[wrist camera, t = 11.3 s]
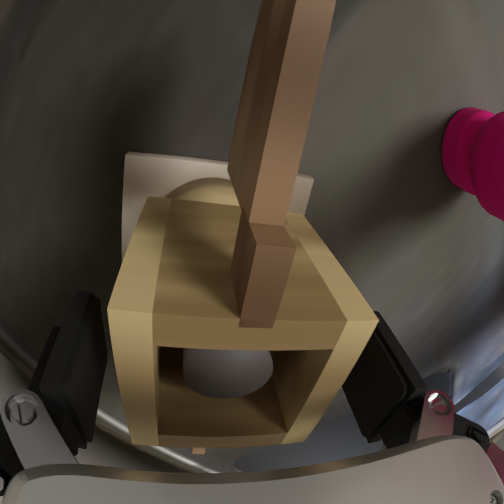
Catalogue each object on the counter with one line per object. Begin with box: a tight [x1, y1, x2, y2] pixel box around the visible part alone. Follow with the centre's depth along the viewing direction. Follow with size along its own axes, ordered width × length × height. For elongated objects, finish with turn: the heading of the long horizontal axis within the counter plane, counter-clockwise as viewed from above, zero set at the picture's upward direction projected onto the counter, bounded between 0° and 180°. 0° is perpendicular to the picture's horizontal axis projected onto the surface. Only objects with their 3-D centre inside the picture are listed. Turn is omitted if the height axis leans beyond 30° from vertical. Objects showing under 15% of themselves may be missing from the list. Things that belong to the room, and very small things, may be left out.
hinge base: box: [122, 152, 314, 454], centre depth 15 cm, size 16×10×10 cm, turn 169°
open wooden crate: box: [107, 0, 379, 448], centre depth 9 cm, size 16×7×7 cm, turn 169°
